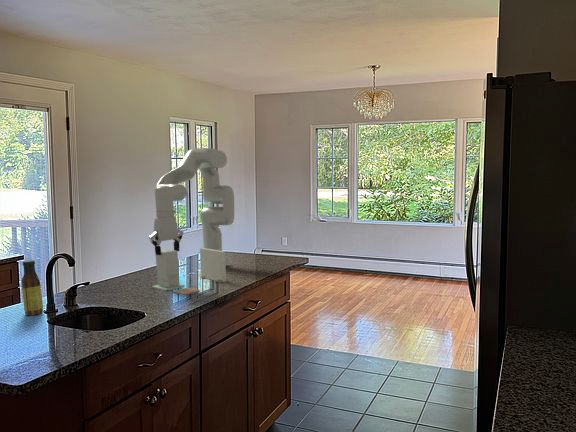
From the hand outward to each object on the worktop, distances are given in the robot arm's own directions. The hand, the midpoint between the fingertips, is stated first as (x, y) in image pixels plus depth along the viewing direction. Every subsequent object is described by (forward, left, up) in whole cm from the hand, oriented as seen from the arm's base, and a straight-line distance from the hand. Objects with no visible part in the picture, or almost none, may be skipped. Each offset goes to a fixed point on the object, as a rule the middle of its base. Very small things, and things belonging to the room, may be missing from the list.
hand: (167, 252), depth 233 cm
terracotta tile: (+2, +14, -15) cm, 21 cm away
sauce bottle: (+57, -5, -15) cm, 59 cm away
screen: (-21, +5, -15) cm, 26 cm away
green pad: (+1, 0, -15) cm, 15 cm away
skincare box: (+1, 0, -15) cm, 15 cm away
